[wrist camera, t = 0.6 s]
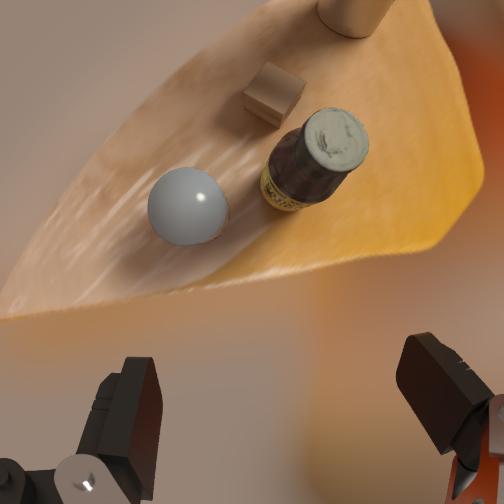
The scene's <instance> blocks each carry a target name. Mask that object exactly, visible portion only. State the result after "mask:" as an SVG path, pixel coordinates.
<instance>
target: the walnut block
mask: <svg viewBox="0 0 504 504" xmlns="http://www.w3.org/2000/svg"><path fill="white" fill-rule="evenodd" d="M305 84H306V82H305V81H304V80H302V79H300V78H298V77H297V76H295V75H293V74H291V73H289V72H287V71H286V70H284V69H282V68H280V67H278V66H276V65H274V64H272V63H270V62H268V61H267V62H266V64H265V65H264V66H263V67H262V69H261V70H260V71H259V72H258V74H257V75H256V76H255V78H254V79H253V80H252V82H251V83H250V84H249V86H248V87H247V88H246V90H245V91H244V92H243V98H244V109H245V110H247V111H249V112H250V113H252V114H254V115H256V116H257V117H259V118H261V119H263V120H264V121H266V122H268V123H270V124H271V125H273V126H275V127H276V128H278V129H280V127H281V126H282V124H283V123H284V121H285V120H286V119H287V117H288V116H289V114H290V113H291V111H292V110H293V108H294V107H295V105H296V104H297V102H298V101H299V100H300V97H301V95H302V92H303V90H304V87H305Z"/></svg>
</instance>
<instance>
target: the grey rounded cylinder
mask: <svg viewBox="0 0 504 504" xmlns="http://www.w3.org/2000/svg"><path fill="white" fill-rule="evenodd" d="M148 216H149V220H150V223H151V225H152V227H153V228H154V230H155V231H156V233H157V234H158V235H159V236H160V237H162V238H163V239H164V240H166V241H168V242H170V243H172V244H176V245H182V246H188V245H194V244H199V243H204V242H208V241H211V240H213V239H215V238H217V237H218V236H219V235H220V234H221V233H222V232H223V231H224V230H225V228H226V226H227V224H228V222H229V218H230V207H229V203H228V200H227V198H226V196H225V195H224V193H223V192H222V190H221V188H220V187H219V185H218V184H217V182H216V181H215V180H214V179H213V178H212V177H211V176H210V175H209V174H207V173H206V172H204V171H202V170H199V169H195V168H179V169H175V170H172V171H170V172H168V173H167V174H165V175H164V176H162V177H161V178H160V179H159V180H158V181H157V182H156V184H155V185H154V187H153V189H152V190H151V193H150V195H149V199H148Z"/></svg>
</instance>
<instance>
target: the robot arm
mask: <svg viewBox="0 0 504 504" xmlns="http://www.w3.org/2000/svg"><path fill="white" fill-rule="evenodd" d="M394 1H395V0H319V2H318V6H317V11H318V15H319V17H320V19H321V20H322V21H323V22H324V24H325V25H327V26H328V27H329V28H330V29H332V30H333V31H335V32H337V33H339V34H341V35H345V36H348V37H353V38H363V37H367V36H369V35H371V34H372V33H374V31H375V30H376V28H377V27H378V25H379V24H380V22H381V21H382V19H383V18H384V16H385V15H386V13H387V12H388V10H389V9H390V7H391V5H392V4H393V2H394ZM396 382H397V386H398V388H399V389H400V391H401V392H402V394H403V396H404V397H405V399H406V400H407V402H408V403H409V405H410V406H411V408H412V410H413V411H414V413H415V414H416V416H417V417H418V419H419V420H420V422H421V424H422V425H423V427H424V428H425V430H426V432H427V433H428V435H429V436H430V438H431V440H432V441H433V443H434V445H435V446H436V448H437V449H438V451H439V453H440V454H441V455H443V454H446V453H448V452H450V451H452V450H454V451H455V452H456V455H455V456H454V458H453V461H452V467H451V472H450V478H449V484H448V489H447V494H446V498H445V502H444V504H504V394H499V395H496V396H495V395H494V394H493V393H492V391H491V390H490V389H489V388H488V387H487V386H486V384H485V383H484V382H483V381H482V380H481V379H480V378H479V377H478V376H477V375H476V373H475V372H474V371H473V370H472V369H470V367H469V366H468V365H467V364H466V363H465V362H463V360H462V358H461V357H460V356H459V355H458V354H457V353H456V352H455V351H454V350H452V349H451V348H449V347H447V346H445V345H444V344H441V343H440V342H439V340H438V339H437V338H436V337H435V336H434V335H433V334H432V333H430V332H425V333H420V334H415V335H410V336H408V338H407V339H406V342H405V345H404V348H403V352H402V355H401V358H400V361H399V365H398V368H397V371H396ZM162 412H163V401H162V394H161V390H160V386H159V382H158V377H157V373H156V369H155V364H154V361H153V358H152V357H127V358H126V359H125V362H124V365H123V368H122V371H121V373H111V374H110V375H109V376H108V377H107V378H106V379H105V380H104V381H103V382H102V383H101V384H100V386H99V389H98V392H97V394H96V400H94V402H93V405H92V411H90V414H89V417H88V419H87V422H86V425H85V428H84V431H83V434H82V437H81V440H80V443H79V446H78V449H77V452H76V454H75V455H73V456H70V457H68V458H66V459H64V460H63V461H62V462H61V463H60V464H59V465H58V467H57V468H56V469H52V470H38V471H24V470H23V468H22V467H21V466H20V465H19V464H18V463H17V462H16V461H14V460H11V459H8V458H0V504H140V501H141V500H150V501H152V499H153V489H154V479H155V469H156V461H157V452H158V442H159V435H160V427H161V420H162Z"/></svg>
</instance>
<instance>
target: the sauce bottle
mask: <svg viewBox="0 0 504 504" xmlns="http://www.w3.org/2000/svg"><path fill="white" fill-rule="evenodd" d="M368 147H369V140H368V135H367V132H366V130H365V129H364V126H363V124H362V123H361V122H360V121H359V119H358V118H356V117H355V116H354V115H353V114H351V113H350V112H348V111H345V110H342V109H338V108H334V107H332V108H324V109H321V110H319V111H317V112H315V113H314V114H313V115H312V116H311V117H310V118H309V119H308V120H307V121H306V122H305V123H304V124H303V126H302V127H301V128H297V129H295V130H292V131H290V132H288V133H287V134H286V135H285V136H284V137H283V138H282V139H281V140H280V141H279V142H278V144H277V145H276V147H275V148H274V149H273V151H272V153H271V155H270V157H269V159H268V161H267V163H266V165H265V168H264V170H263V172H262V175H261V180H260V187H261V191H262V194H263V196H264V198H265V199H266V200H267V202H268V203H269V204H271V205H272V206H273V207H275V208H277V209H279V210H282V211H296V210H299V209H302V208H305V207H308V206H310V205H313V204H316V203H319V202H322V201H324V200H326V199H327V198H329V197H330V196H331V195H332V194H333V192H334V191H335V190H336V189H337V188H338V186H339V185H340V184H341V183H342V181H343V180H344V179H345V178H346V176H347V175H348V173H350V172H351V171H353V170H355V169H356V168H357V167H358V166H359V165H360V164H361V163H362V162H363V161H364V159H365V157H366V155H367V153H368Z"/></svg>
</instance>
